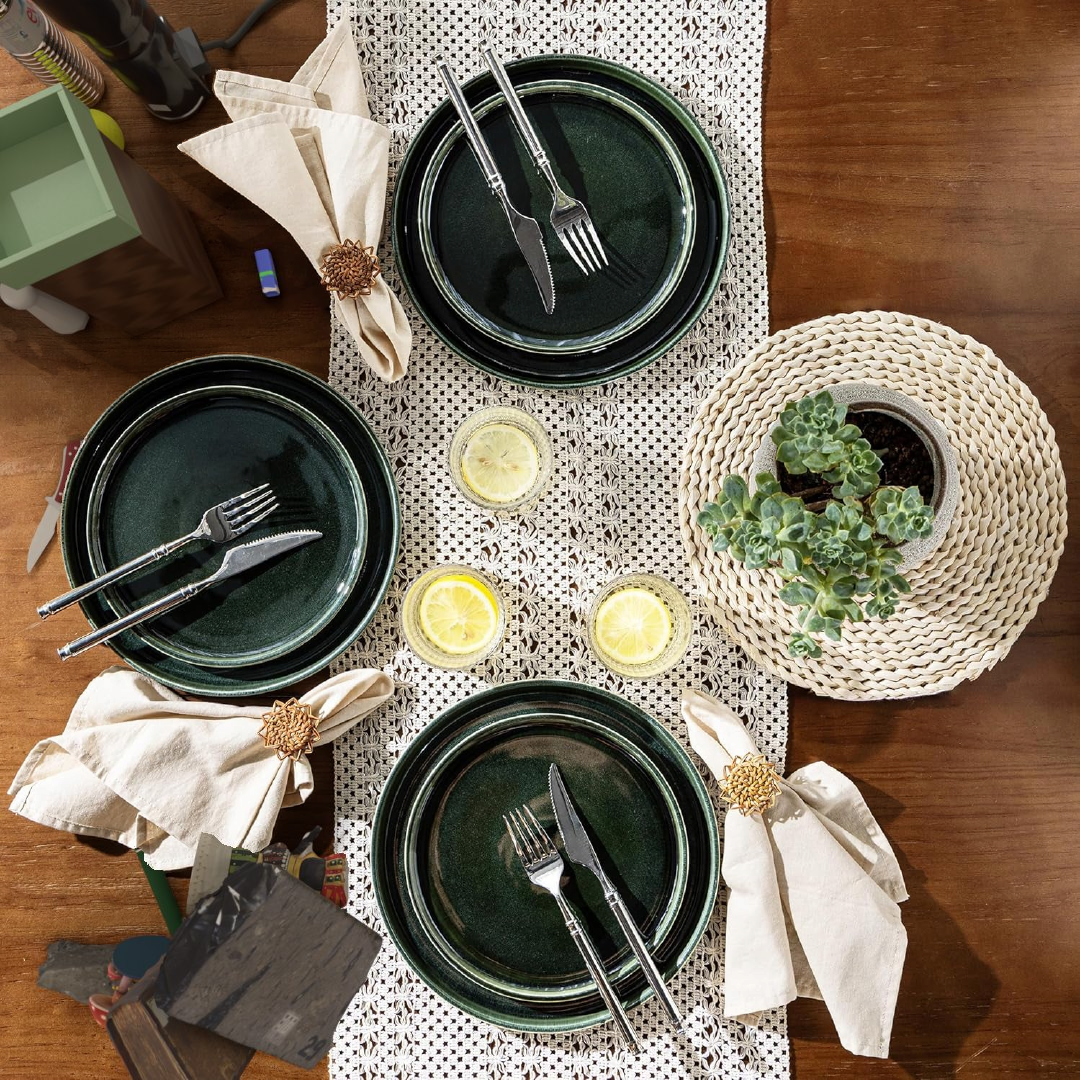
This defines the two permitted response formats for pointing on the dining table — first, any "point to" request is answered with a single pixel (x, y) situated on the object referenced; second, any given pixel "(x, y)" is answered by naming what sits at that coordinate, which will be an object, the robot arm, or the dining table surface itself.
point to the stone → (78, 970)
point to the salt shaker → (46, 308)
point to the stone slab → (267, 964)
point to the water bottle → (47, 51)
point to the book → (169, 1040)
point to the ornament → (108, 127)
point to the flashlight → (162, 895)
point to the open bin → (56, 189)
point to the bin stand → (141, 261)
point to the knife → (51, 509)
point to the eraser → (267, 273)
